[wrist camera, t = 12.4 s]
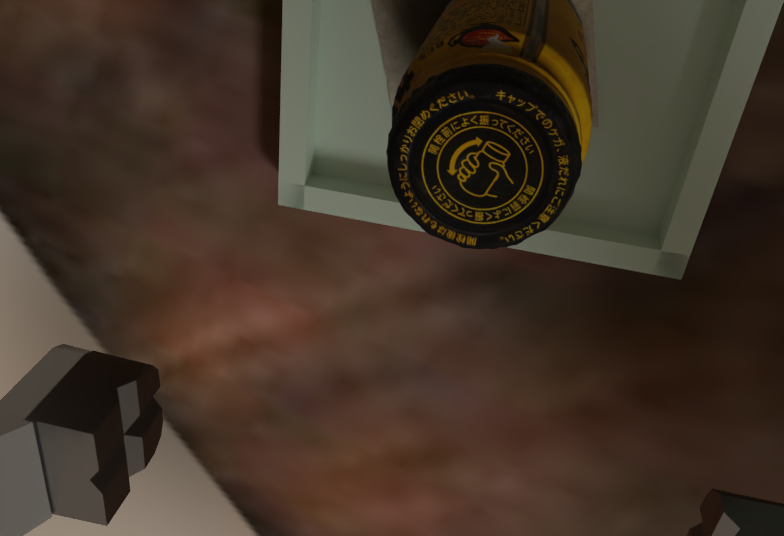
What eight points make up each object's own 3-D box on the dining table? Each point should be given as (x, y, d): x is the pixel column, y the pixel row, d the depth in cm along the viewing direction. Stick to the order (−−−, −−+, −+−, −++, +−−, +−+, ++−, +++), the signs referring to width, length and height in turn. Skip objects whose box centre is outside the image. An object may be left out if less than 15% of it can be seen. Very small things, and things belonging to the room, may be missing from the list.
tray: (675, 256, 34) (681, 279, 32) (291, 186, 36) (277, 204, 34) (818, -148, 25) (837, -145, 23) (304, -210, 27) (287, -211, 25)
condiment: (598, 125, 31) (615, 274, 21) (399, 145, 33) (325, 289, 23) (589, -66, 27) (604, 2, 17) (367, -29, 29) (264, 50, 19)
